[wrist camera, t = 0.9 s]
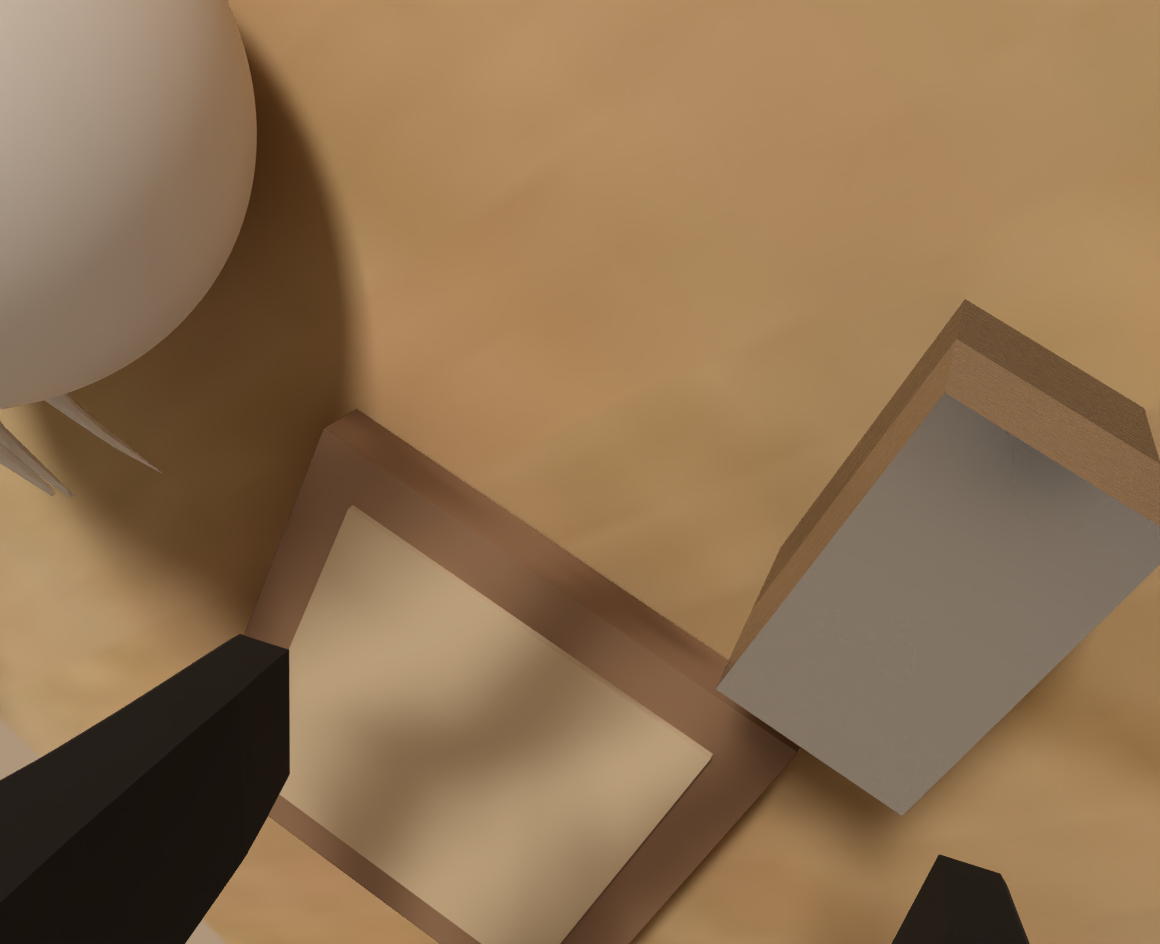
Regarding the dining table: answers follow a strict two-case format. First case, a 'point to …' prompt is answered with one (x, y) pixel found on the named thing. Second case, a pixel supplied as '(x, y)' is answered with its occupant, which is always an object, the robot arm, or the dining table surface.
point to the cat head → (112, 189)
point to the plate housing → (951, 560)
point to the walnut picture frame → (490, 711)
